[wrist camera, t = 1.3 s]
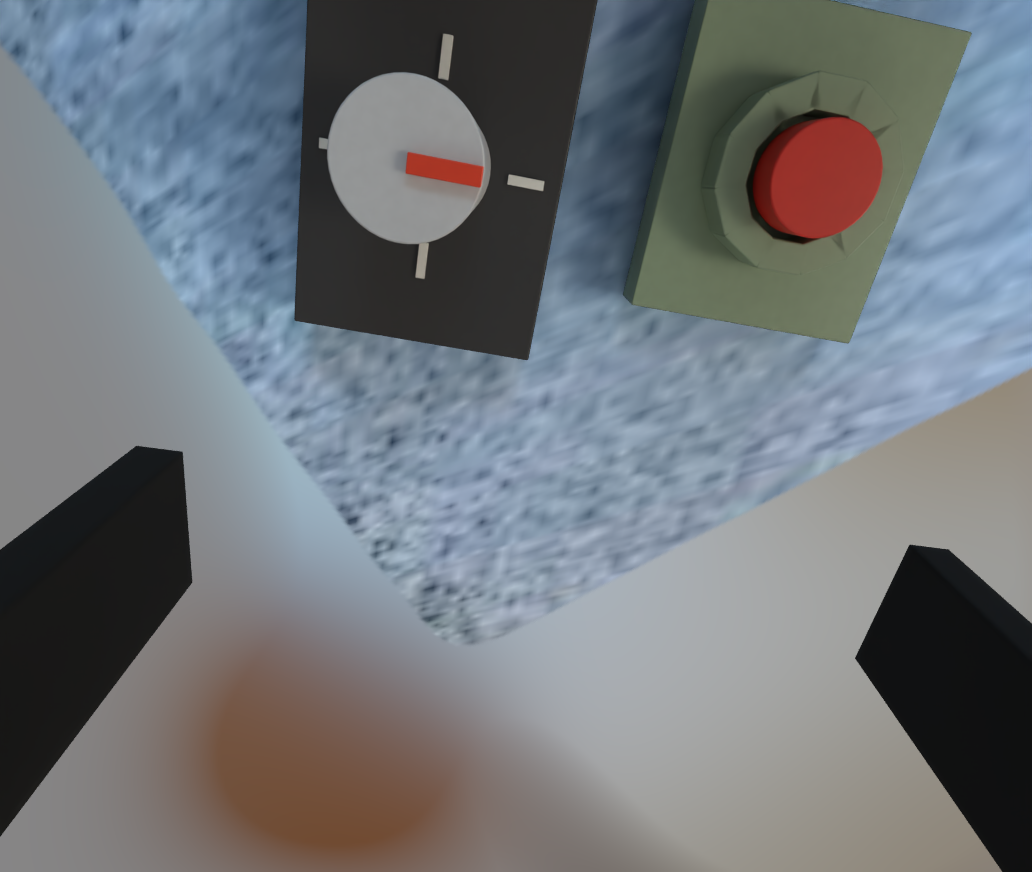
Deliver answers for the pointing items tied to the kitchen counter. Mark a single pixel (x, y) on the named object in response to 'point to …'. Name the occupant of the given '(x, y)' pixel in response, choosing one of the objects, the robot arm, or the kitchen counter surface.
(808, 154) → the power button
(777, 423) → the kitchen counter surface
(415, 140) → the timer dial
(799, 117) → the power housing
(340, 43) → the panel
